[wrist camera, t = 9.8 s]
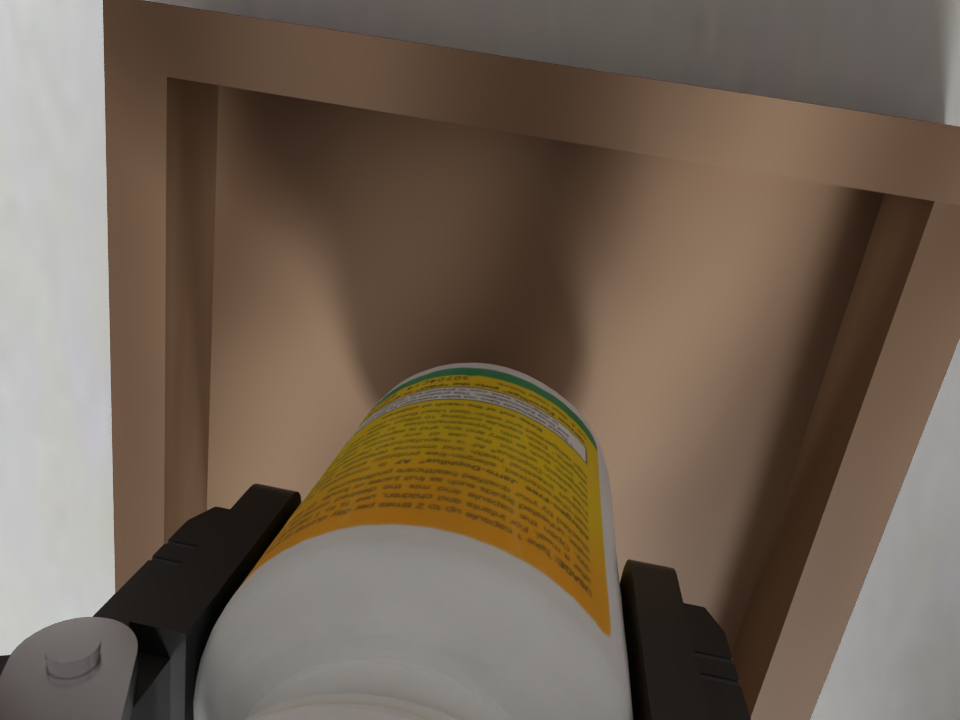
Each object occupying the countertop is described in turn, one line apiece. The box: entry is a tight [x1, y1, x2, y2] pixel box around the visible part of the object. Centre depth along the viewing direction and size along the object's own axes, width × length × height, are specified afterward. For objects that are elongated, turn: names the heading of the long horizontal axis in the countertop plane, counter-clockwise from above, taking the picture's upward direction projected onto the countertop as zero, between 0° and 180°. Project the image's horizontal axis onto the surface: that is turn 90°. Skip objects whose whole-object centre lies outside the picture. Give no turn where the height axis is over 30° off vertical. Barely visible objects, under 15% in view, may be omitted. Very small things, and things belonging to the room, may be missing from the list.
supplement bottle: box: [193, 363, 633, 720], centre depth 10 cm, size 5×5×10 cm
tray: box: [103, 0, 960, 720], centre depth 16 cm, size 16×16×3 cm
